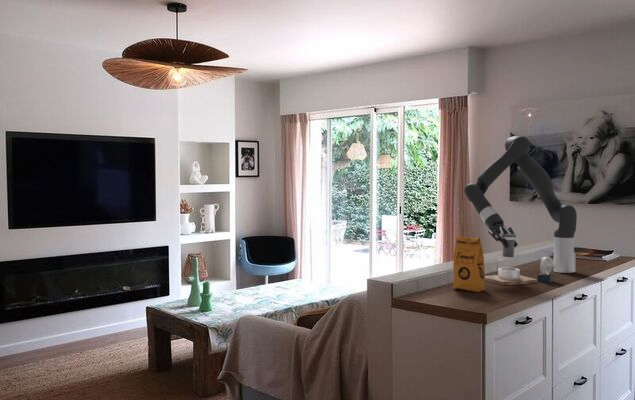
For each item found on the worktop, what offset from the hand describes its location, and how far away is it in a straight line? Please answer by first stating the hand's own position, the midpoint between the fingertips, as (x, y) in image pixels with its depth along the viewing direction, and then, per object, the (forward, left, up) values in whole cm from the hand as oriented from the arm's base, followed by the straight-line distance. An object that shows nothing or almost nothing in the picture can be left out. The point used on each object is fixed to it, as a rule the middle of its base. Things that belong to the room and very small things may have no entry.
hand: (511, 246), depth 257 cm
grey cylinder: (+1, -2, -5) cm, 5 cm away
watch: (-14, +5, -16) cm, 22 cm away
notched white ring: (+1, -1, -14) cm, 14 cm away
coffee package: (+29, +11, -16) cm, 35 cm away
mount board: (+1, -1, -16) cm, 16 cm away
